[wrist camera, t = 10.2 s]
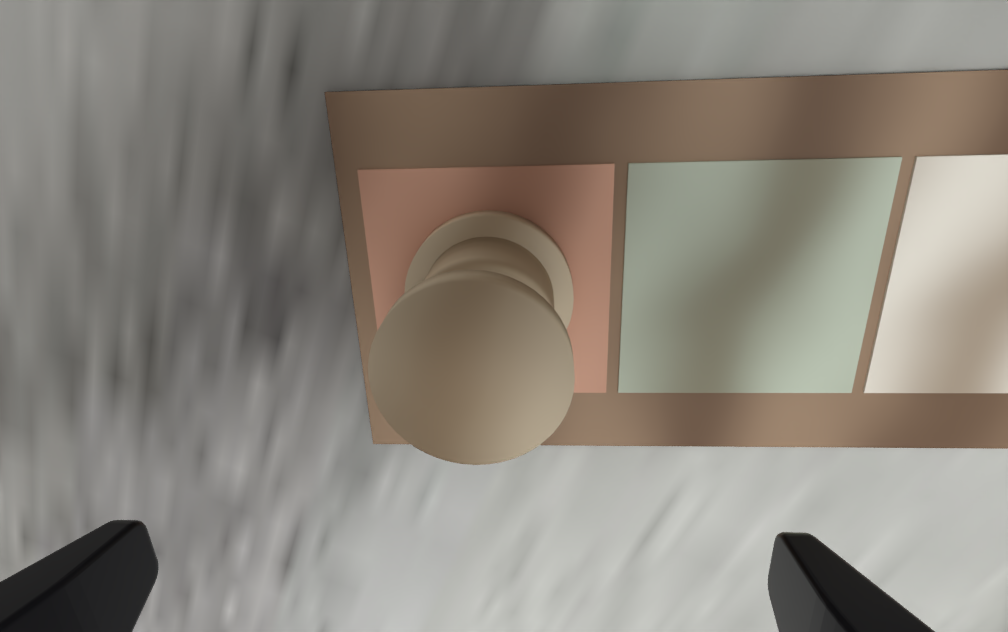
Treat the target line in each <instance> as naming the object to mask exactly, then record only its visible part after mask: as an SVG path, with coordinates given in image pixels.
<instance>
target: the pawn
mask: <svg viewBox="0 0 1008 632" xmlns="http://www.w3.org/2000/svg"><path fill="white" fill-rule="evenodd" d="M573 302H574V295H573V284H572V277H571V272H570V268H569V266H568V263H567V260H566V258H565V256H564V254H563V252H562V250H561V249H560V247H559V246H558V245H557V243H556V242H555V241H554V240H553V238H552V237H551V236H550V235H549V234H548V233H547V232H545V231H544V230H543V229H542V228H541V227H539V226H538V225H536V224H535V223H533V222H531V221H530V220H528V219H525V218H523V217H521V216H518V215H515V214H512V213H508V212H503V211H494V210H483V211H474V212H470V213H465V214H462V215H459V216H457V217H454V218H452V219H450V220H448V221H447V222H445V223H443V224H442V225H441V226H439V227H438V228H436V229H435V230H434V231H433V232H432V233H431V234H430V235H429V236H428V237H427V239H426V240H425V241H424V242H423V244H422V245H421V247H420V248H419V250H418V251H417V253H416V255H415V256H414V258H413V260H412V262H411V264H410V267H409V269H408V273H407V277H406V281H405V293H404V294H403V295H402V296H401V297H400V298H399V299H398V300H397V301H396V302H395V304H394V305H393V306H392V307H391V309H390V310H389V312H388V314H387V315H386V317H385V319H384V320H383V322H382V324H381V325H380V327H379V329H378V330H377V332H376V334H375V337H374V339H373V342H372V345H371V349H370V353H369V361H368V376H369V383H370V388H371V392H372V395H373V397H374V400H375V403H376V405H377V407H378V408H379V410H380V412H381V414H382V415H383V417H384V418H385V420H386V421H387V423H388V424H389V425H390V426H391V427H392V428H393V429H394V430H395V432H396V433H398V434H399V435H400V436H401V437H402V438H403V439H404V440H406V441H407V442H408V443H410V444H411V445H413V446H414V447H416V448H418V449H419V450H421V451H423V452H425V453H427V454H429V455H432V456H434V457H437V458H439V459H443V460H446V461H450V462H455V463H461V464H472V465H480V464H493V463H499V462H503V461H507V460H511V459H514V458H516V457H519V456H521V455H524V454H526V453H527V452H529V451H531V450H533V449H535V448H536V447H537V446H539V445H540V444H541V443H543V442H544V441H545V440H546V439H547V438H548V437H550V436H551V435H552V434H553V433H554V431H555V430H556V429H557V428H558V426H559V425H560V424H561V422H562V420H563V419H564V417H565V415H566V414H567V411H568V409H569V406H570V404H571V400H572V396H573V392H574V383H575V373H574V360H573V351H572V346H571V341H570V338H569V335H568V332H567V328H568V325H569V322H570V320H571V316H572V311H573Z"/></svg>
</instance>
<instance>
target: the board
mask: <svg viewBox="0 0 1008 632" xmlns="http://www.w3.org/2000/svg"><path fill="white" fill-rule="evenodd" d="M325 99H326V106H327V114H328V121H329V128H330V135H331V142H332V150H333V157H334V164H335V171H336V179H337V186H338V193H339V200H340V207H341V215H342V222H343V229H344V236H345V243H346V251H347V258H348V265H349V272H350V280H351V287H352V294H353V301H354V308H355V316H356V323H357V330H358V337H359V345H360V352H361V359H362V366H363V373H364V381H365V388H366V395H367V402H368V410H369V417H370V424H371V431H372V438H373V444H410V443H408V442H407V441H406V440H404V439H403V438H402V437H401V436H400V435H399V434H398V433H396V432H395V430H394V429H393V428H392V427H391V426H390V425H389V424H388V423H387V421H386V420H385V418H384V417H383V415H382V414H381V412H380V410H379V408H378V407H377V405H376V403H375V400H374V397H373V395H372V392H371V388H370V383H369V376H368V361H369V353H370V349H371V345H372V342H373V339H374V337H375V334H376V332H377V330H378V329H379V327H380V325H381V324H382V322H383V320H384V319H385V317H386V315H387V314H388V312H389V310H390V309H391V307H392V306H393V305H394V304H395V302H396V301H397V300H398V299H399V298H400V297H401V296H402V295H403V294H404V293H405V281H406V277H407V273H408V269H409V267H410V264H411V262H412V260H413V258H414V256H415V255H416V253H417V251H418V250H419V248H420V247H421V245H422V244H423V242H424V241H425V240H426V239H427V237H428V236H429V235H430V234H431V233H432V232H433V231H434V230H435V229H436V228H438V227H439V226H441V225H442V224H443V223H445V222H447V221H448V220H450V219H452V218H454V217H457V216H459V215H462V214H465V213H470V212H474V211H483V210H494V211H503V212H508V213H512V214H515V215H518V216H521V217H523V218H525V219H528V220H530V221H531V222H533V223H535V224H536V225H538V226H539V227H541V228H542V229H543V230H544V231H545V232H547V233H548V234H549V235H550V236H551V237H552V238H553V240H554V241H555V242H556V243H557V245H558V246H559V247H560V249H561V250H562V252H563V254H564V256H565V258H566V260H567V263H568V266H569V268H570V272H571V277H572V284H573V295H574V302H573V311H572V316H571V320H570V322H569V325H568V328H567V332H568V335H569V338H570V341H571V346H572V351H573V360H574V373H575V383H574V392H573V396H572V400H571V404H570V406H569V409H568V411H567V414H566V415H565V417H564V419H563V420H562V422H561V424H560V425H559V426H558V428H557V429H556V430H555V431H554V433H553V434H552V435H551V436H550V437H548V438H547V439H546V440H545V441H544V442H543V443H541V444H540V445H596V446H735V447H873V448H1008V70H980V71H950V72H919V73H889V74H858V75H828V76H797V77H767V78H736V79H706V80H675V81H645V82H614V83H584V84H553V85H522V86H492V87H461V88H431V89H400V90H370V91H339V92H325Z"/></svg>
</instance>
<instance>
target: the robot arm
mask: <svg viewBox="0 0 1008 632" xmlns="http://www.w3.org/2000/svg"><path fill="white" fill-rule="evenodd" d="M157 574H158V560H157V557H156V554H155V551H154V548H153V545H152V542H151V539H150V536H149V533H148V530H147V528H146V526H145V525H144V524H143V523H142V522H141V521H137V520H114V521H110V522H108V523H106V524H104V525H103V526H101V527H99V528H97V529H95V530H94V531H92V532H90V533H88V534H86V535H84V536H83V537H81V538H79V539H77V540H75V541H74V542H72V543H70V544H68V545H66V546H65V547H63V548H61V549H59V550H57V551H56V552H54V553H52V554H50V555H48V556H47V557H45V558H43V559H41V560H39V561H38V562H36V563H34V564H32V565H30V566H29V567H27V568H25V569H23V570H21V571H19V572H18V573H16V574H14V575H12V576H10V577H9V578H7V579H5V580H3V581H1V582H0V632H132V631H133V629H134V626H135V624H136V622H137V620H138V618H139V616H140V614H141V611H142V609H143V607H144V605H145V603H146V601H147V598H148V596H149V594H150V592H151V590H152V588H153V586H154V583H155V581H156V578H157ZM768 590H769V596H770V600H771V604H772V607H773V611H774V615H775V619H776V622H777V626H778V630H779V632H935V631H933V630H932V629H931V628H930V627H928V626H927V625H926V624H924V623H923V622H922V621H921V620H919V619H918V618H917V617H916V616H914V615H913V614H912V613H911V612H909V611H908V610H907V609H905V608H904V607H903V606H902V605H900V604H899V603H898V602H897V601H895V600H894V599H893V598H892V597H890V596H889V595H888V594H886V593H885V592H884V591H883V590H881V589H880V588H879V587H878V586H876V585H875V584H874V583H873V582H871V581H870V580H869V579H867V578H866V577H865V576H864V575H862V574H861V573H860V572H859V571H857V570H856V569H855V568H854V567H852V566H851V565H850V564H848V563H847V562H846V561H845V560H843V559H842V558H841V557H840V556H838V555H837V554H836V553H835V552H833V551H832V550H831V549H829V548H828V547H827V546H826V545H824V544H823V543H822V542H821V541H819V540H818V539H817V538H816V537H814V536H813V535H811V534H808V533H792V532H783V533H780V534H778V535H777V537H776V538H775V542H774V547H773V552H772V558H771V564H770V569H769V575H768Z"/></svg>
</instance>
